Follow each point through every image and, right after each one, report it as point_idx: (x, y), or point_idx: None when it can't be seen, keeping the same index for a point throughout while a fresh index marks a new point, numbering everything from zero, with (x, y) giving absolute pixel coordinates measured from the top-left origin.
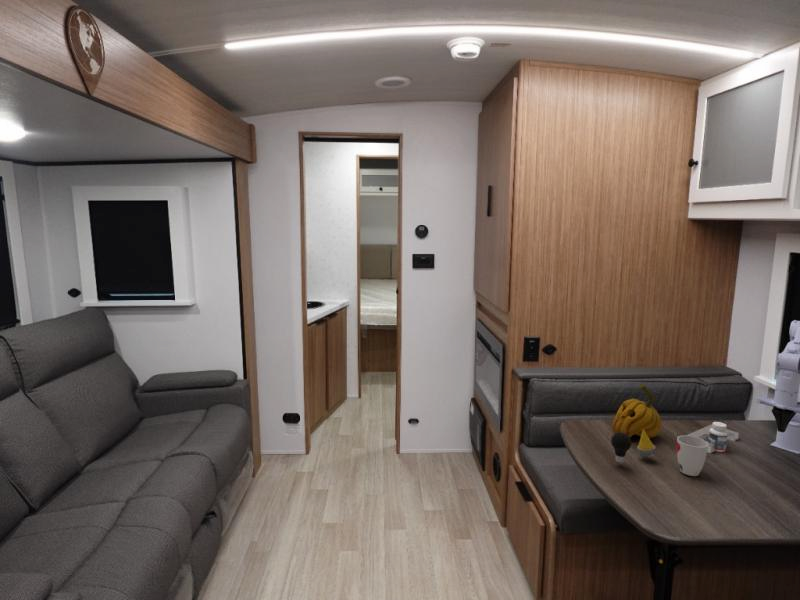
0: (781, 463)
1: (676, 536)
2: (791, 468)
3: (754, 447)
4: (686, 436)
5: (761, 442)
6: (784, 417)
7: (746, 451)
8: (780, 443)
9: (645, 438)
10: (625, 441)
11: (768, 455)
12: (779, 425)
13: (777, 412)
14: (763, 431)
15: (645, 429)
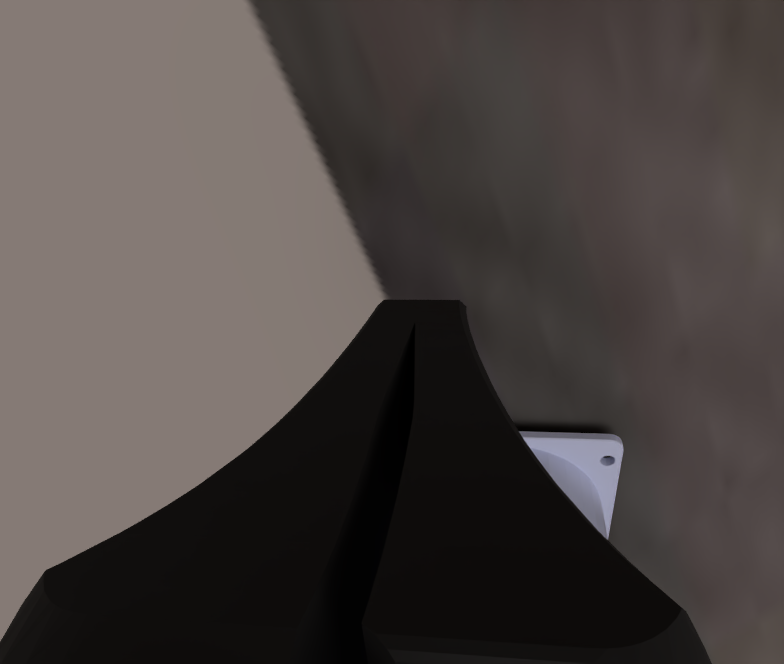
0: (414, 128)
1: None
2: (305, 87)
3: (726, 304)
4: None
5: (699, 455)
6: (258, 525)
7: (776, 123)
8: (550, 474)
9: None
10: None
11: (569, 222)
12: (426, 359)
13: (456, 627)
14: (734, 638)
15: None
